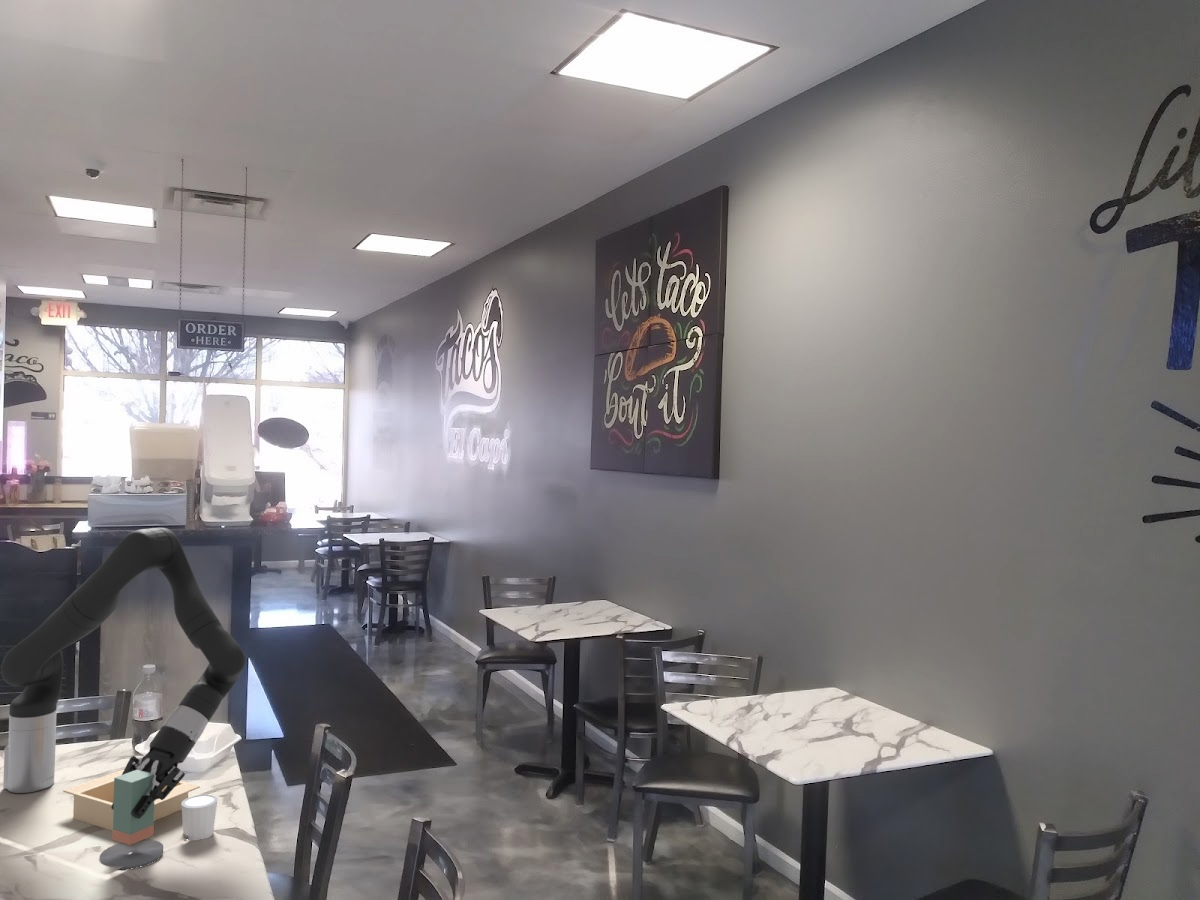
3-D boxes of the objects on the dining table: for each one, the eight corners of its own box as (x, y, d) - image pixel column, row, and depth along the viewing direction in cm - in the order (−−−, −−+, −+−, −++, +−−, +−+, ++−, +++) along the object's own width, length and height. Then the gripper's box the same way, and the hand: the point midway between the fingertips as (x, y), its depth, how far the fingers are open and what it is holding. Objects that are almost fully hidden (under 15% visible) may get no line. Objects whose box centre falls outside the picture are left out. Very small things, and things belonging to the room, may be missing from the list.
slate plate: (85, 866, 166) (85, 861, 166) (127, 841, 177) (127, 836, 177) (136, 873, 164) (136, 868, 164) (175, 847, 175) (175, 842, 175)
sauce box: (112, 839, 170) (113, 777, 169) (136, 829, 174) (137, 769, 174) (130, 845, 167) (131, 782, 167) (153, 834, 172) (155, 773, 172)
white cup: (180, 844, 177) (181, 809, 177) (179, 830, 183) (180, 797, 183) (217, 838, 180) (218, 804, 180) (215, 824, 186) (216, 791, 186)
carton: (62, 818, 186) (63, 790, 186) (128, 793, 201) (129, 767, 201) (134, 841, 177) (135, 812, 177) (199, 813, 191) (200, 786, 191)
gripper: (144, 719, 180) (87, 797, 170) (193, 730, 174) (138, 812, 164) (166, 737, 185) (112, 814, 174) (215, 748, 179) (162, 830, 168)
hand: (125, 813), depth 169 cm, fingers closed on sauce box, 5 cm apart
